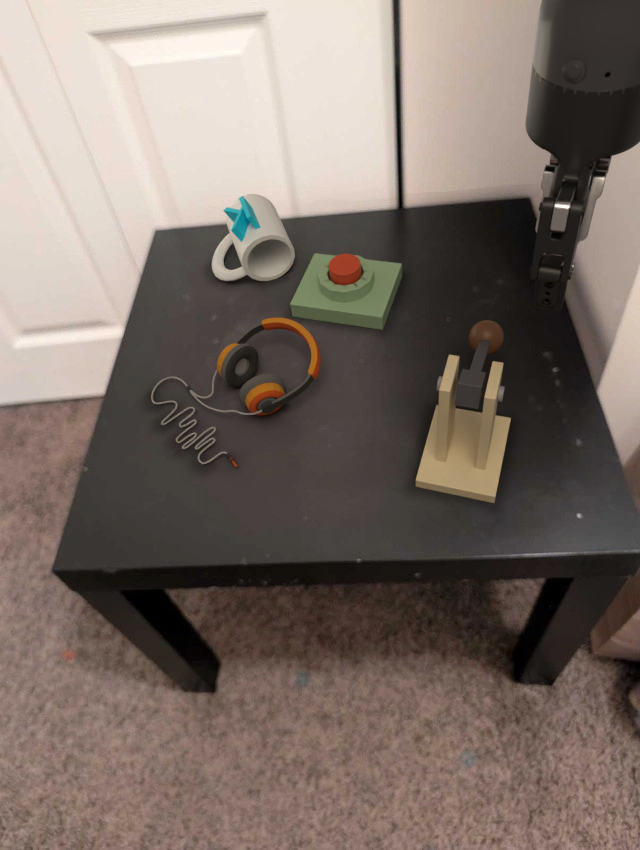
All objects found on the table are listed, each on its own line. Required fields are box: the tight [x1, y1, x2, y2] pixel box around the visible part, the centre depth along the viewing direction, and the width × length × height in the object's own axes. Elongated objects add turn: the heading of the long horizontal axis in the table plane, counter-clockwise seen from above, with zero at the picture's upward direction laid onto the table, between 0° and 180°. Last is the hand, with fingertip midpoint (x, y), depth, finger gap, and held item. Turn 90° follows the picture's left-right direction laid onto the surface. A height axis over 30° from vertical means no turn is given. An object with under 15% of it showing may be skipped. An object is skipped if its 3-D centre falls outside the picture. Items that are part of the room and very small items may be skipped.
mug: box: [211, 193, 296, 282], centre depth 91 cm, size 12×9×12 cm
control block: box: [289, 252, 403, 331], centre depth 85 cm, size 12×10×4 cm
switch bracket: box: [415, 354, 512, 504], centre depth 65 cm, size 10×8×13 cm
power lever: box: [455, 319, 505, 410], centre depth 66 cm, size 14×4×4 cm, turn 162°
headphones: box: [150, 317, 322, 468], centre depth 77 cm, size 17×5×20 cm
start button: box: [329, 253, 362, 285], centre depth 83 cm, size 4×4×2 cm
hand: (557, 271), depth 52 cm, fingers open, 8 cm apart
